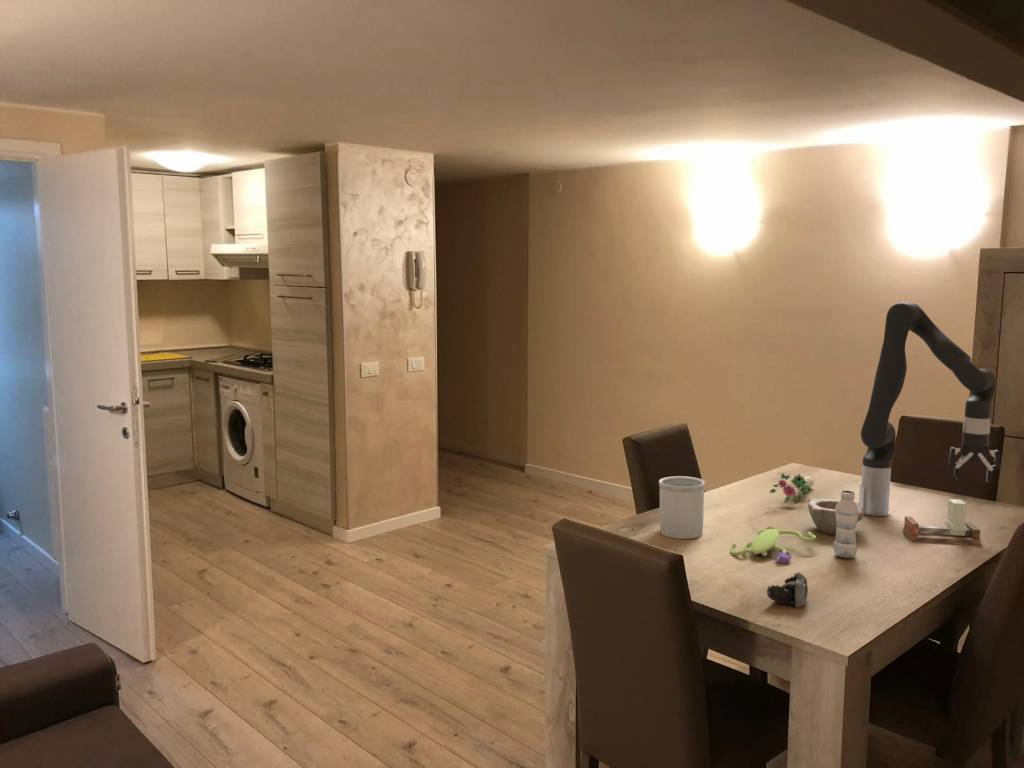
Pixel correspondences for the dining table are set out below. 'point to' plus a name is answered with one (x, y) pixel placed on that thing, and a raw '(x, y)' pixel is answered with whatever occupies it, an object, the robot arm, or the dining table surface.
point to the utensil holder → (681, 507)
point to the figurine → (770, 543)
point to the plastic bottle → (846, 526)
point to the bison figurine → (790, 591)
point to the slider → (956, 517)
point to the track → (949, 537)
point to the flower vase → (797, 482)
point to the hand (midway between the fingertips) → (972, 480)
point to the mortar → (827, 514)
